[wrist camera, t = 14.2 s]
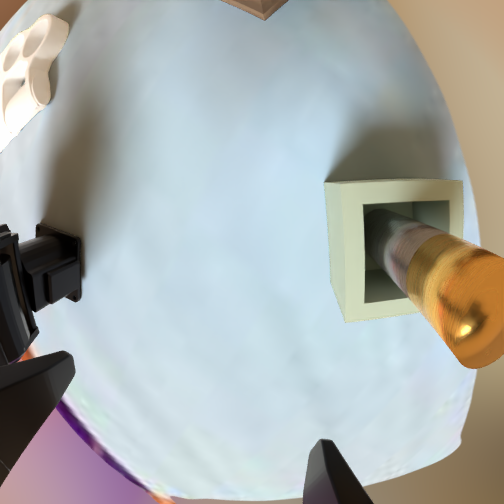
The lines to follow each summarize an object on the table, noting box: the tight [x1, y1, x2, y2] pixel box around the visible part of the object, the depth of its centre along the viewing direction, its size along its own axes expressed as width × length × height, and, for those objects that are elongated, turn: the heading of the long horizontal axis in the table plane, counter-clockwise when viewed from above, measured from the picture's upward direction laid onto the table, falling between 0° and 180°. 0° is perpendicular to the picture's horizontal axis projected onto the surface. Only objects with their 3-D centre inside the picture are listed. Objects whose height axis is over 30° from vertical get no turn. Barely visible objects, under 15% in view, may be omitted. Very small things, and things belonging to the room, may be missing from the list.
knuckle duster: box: [0, 14, 69, 153], centre depth 17 cm, size 3×18×15 cm
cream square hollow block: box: [324, 178, 464, 323], centre depth 15 cm, size 7×7×6 cm
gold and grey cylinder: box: [363, 208, 504, 369], centre depth 11 cm, size 3×3×12 cm
